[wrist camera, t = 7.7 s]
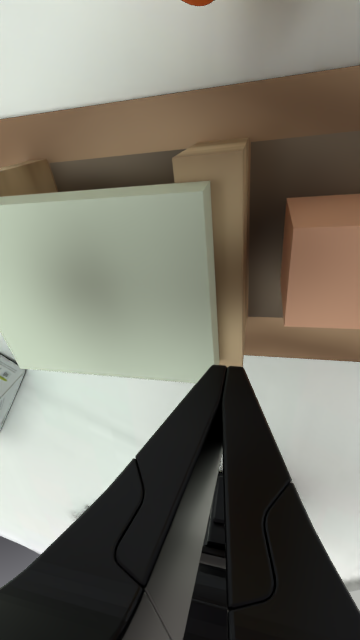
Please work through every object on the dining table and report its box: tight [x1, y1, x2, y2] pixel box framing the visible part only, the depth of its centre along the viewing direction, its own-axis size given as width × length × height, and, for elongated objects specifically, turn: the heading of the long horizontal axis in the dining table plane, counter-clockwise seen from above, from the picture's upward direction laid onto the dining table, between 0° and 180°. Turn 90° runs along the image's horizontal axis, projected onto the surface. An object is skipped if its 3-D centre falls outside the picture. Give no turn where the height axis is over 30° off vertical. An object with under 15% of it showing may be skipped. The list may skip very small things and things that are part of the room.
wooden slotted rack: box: [0, 65, 360, 368], centre depth 15 cm, size 15×28×6 cm, turn 97°
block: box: [280, 194, 360, 329], centre depth 14 cm, size 4×4×4 cm
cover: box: [0, 181, 220, 383], centre depth 14 cm, size 8×11×2 cm
